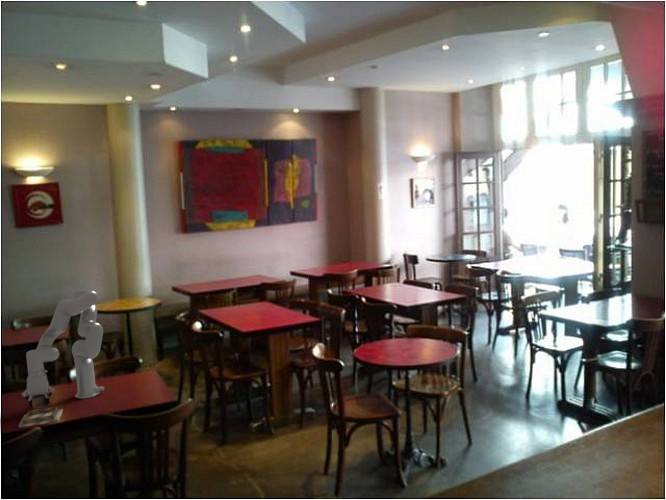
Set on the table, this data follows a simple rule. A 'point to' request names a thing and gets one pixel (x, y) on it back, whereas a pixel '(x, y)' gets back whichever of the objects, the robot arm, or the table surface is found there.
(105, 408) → the table surface
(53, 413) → the square beige tray
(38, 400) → the lighter
